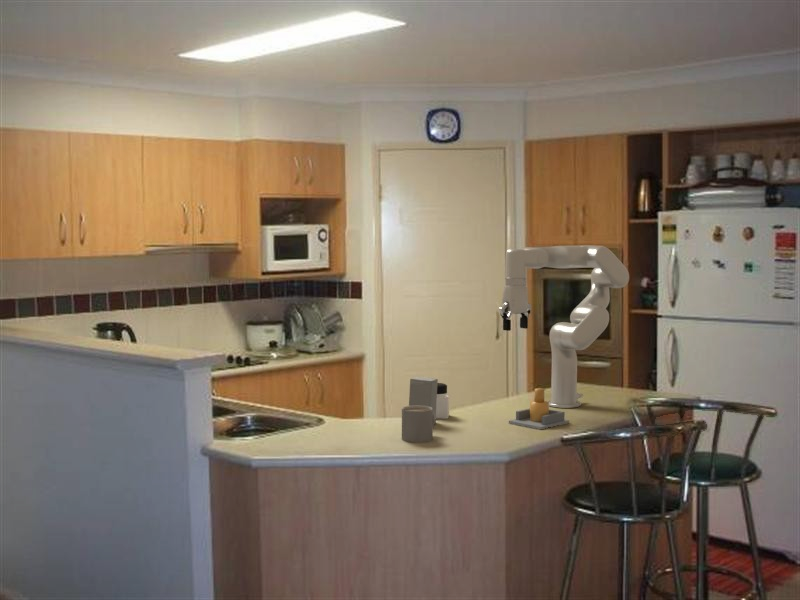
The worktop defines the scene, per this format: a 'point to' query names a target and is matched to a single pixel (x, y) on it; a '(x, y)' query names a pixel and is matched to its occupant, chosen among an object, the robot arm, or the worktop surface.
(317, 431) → the worktop surface
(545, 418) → the u rest
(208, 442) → the worktop surface
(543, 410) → the amber bottle
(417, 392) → the skincare box
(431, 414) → the coffee mug
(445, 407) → the medicine bottle
